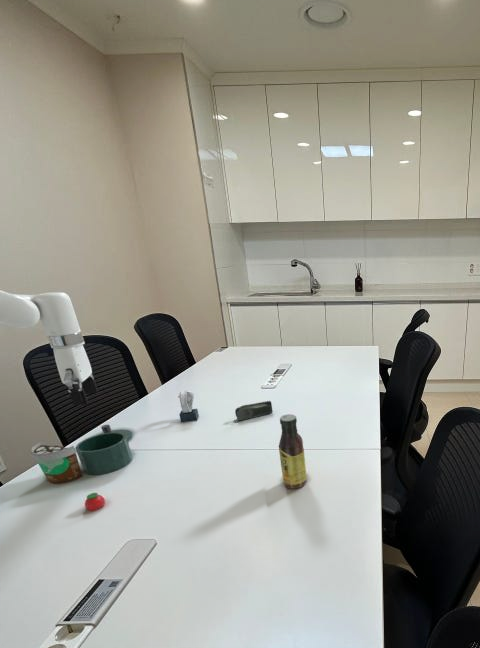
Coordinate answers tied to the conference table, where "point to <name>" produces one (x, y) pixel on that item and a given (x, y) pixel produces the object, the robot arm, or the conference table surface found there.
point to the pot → (104, 453)
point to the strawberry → (94, 502)
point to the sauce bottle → (291, 453)
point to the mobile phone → (253, 410)
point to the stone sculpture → (187, 407)
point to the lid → (108, 430)
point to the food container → (57, 463)
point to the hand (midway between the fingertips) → (86, 398)
